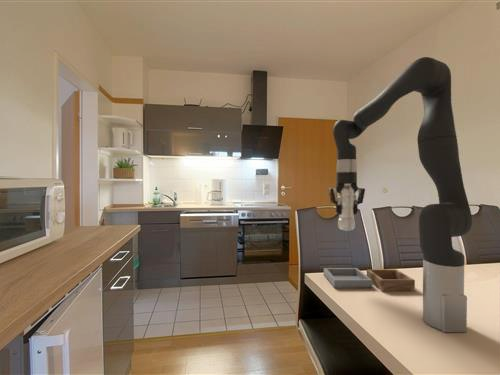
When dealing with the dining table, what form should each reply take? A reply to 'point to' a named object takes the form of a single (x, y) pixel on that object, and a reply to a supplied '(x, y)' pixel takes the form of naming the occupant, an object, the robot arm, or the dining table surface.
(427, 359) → the dining table surface
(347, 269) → the grey tray
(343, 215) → the plastic bottle
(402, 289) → the walnut collar
